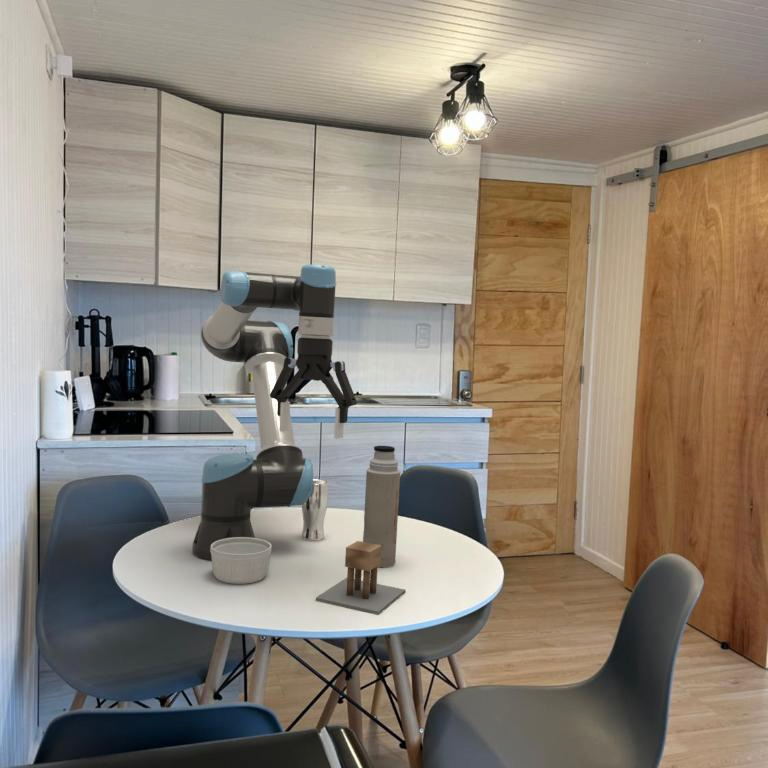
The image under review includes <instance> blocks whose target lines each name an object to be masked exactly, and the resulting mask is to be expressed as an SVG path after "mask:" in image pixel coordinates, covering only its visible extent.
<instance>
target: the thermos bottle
mask: <svg viewBox="0 0 768 768" xmlns="http://www.w3.org/2000/svg"><path fill="white" fill-rule="evenodd" d="M395 450H396V449H395V447H394V446H390V445H375V446H373V451H374V452H373V453H374V455H373V458H371V459H370V460H369V463H368V465H369V468H366V473H365V474H366V475H365V476H366V477H365V494H364V495H365V496H364V512H363V513H364V514H363V518H364V519H363V524H364V525H363V534H362V542H366V543H372V544H377V545H381V562H380V565H378V567H386V568H390V566H391V567H393V566H395V564H396V557H397V556H396V555H397V536H398V519H399V516H398V515H399V501H400V486H401V485H400V483H401V480H400V479H401V471H400V469H398V467H399V461H398V460H397V459H395V456H396V455H395Z"/></svg>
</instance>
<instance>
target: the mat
mask: <svg viewBox="0 0 768 768" xmlns="http://www.w3.org/2000/svg"><path fill="white" fill-rule="evenodd" d="M354 580H355V578H354ZM362 591H363V580H361V590H354V588H353V595H352V596H348V595H346V592H347V577H345V578H344V579H341V581H339V582H337V583H336V584H334V585H333V586H331V587H330V588H328V589H326V590H324V592H322V593H321V594H319V595H317V596H316V597H315V601H316V602H320V603H325V604H328V605H329V604H330V605H334V606H338V607H343V608H347V609H351V610H352V609H353V610H357V611H360V612H365V613H368V614H369V613H370V614H374V615H380V614H381V613H382V612H384V611H385V610H387V608H388V607H390V606H391V605H392V604H394V602H396V601H397V600H398V599H399V598H401V597H402V596H403V595H405V593H406V589H404V588H399V587H394V586H390V585H385V584H379V583H377V588H376V593H375V594H371V593H370V589H369V599H363V598H362ZM402 594H403V595H402ZM401 595H402V596H401ZM400 596H401V597H400ZM396 599H397V600H396ZM395 600H396V601H395ZM390 604H391V605H390ZM389 605H390V606H389ZM383 610H384V611H383Z"/></svg>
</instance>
